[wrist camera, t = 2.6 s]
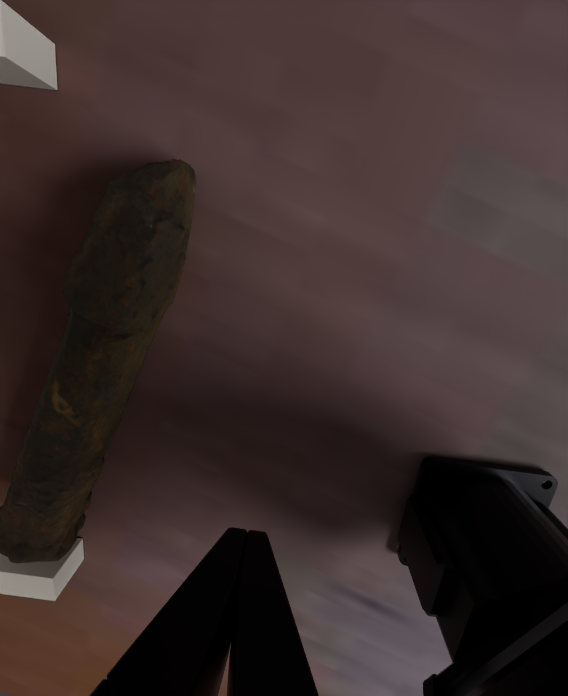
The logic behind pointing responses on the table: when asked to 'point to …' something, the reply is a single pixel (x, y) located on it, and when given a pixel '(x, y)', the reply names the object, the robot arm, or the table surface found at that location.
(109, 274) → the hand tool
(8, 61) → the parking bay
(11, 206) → the table surface
